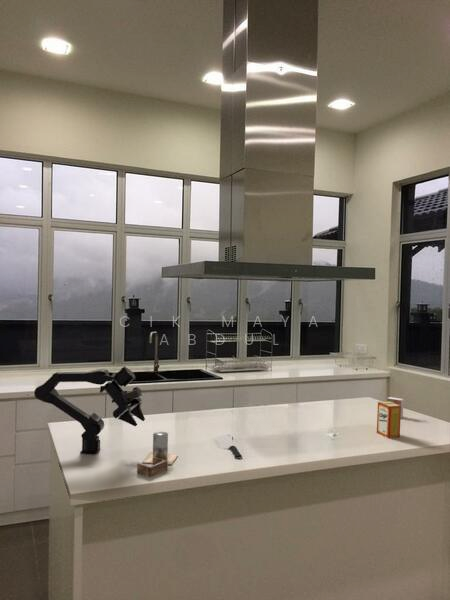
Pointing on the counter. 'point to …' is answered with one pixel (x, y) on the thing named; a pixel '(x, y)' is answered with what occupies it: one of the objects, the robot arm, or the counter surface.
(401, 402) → the small box
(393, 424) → the baking soda box
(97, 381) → the robot arm
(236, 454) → the kitchen cleaver
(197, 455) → the counter surface
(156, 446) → the canister
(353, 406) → the counter surface
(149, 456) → the mat
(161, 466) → the cubby
